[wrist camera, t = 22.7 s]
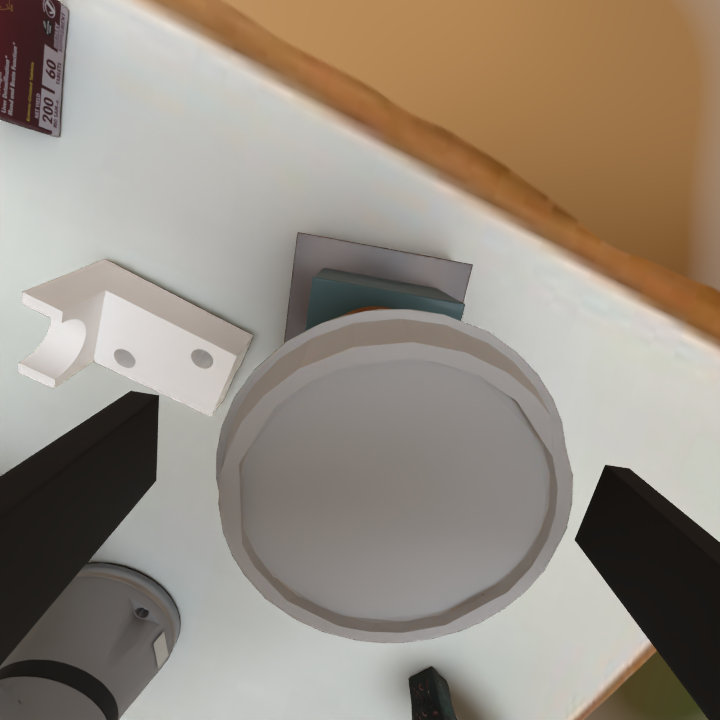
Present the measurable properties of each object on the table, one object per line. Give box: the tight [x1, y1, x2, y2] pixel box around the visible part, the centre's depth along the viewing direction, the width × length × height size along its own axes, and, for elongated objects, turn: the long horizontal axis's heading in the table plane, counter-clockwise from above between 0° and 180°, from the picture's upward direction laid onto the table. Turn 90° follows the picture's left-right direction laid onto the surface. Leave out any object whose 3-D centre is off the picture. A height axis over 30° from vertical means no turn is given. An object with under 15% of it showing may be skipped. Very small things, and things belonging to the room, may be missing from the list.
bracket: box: [18, 259, 253, 417], centre depth 30 cm, size 13×7×8 cm, turn 61°
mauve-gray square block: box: [284, 232, 473, 343], centre depth 30 cm, size 12×12×6 cm
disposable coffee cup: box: [216, 306, 573, 643], centre depth 15 cm, size 10×10×12 cm
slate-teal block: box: [305, 268, 465, 331], centre depth 24 cm, size 8×8×7 cm
